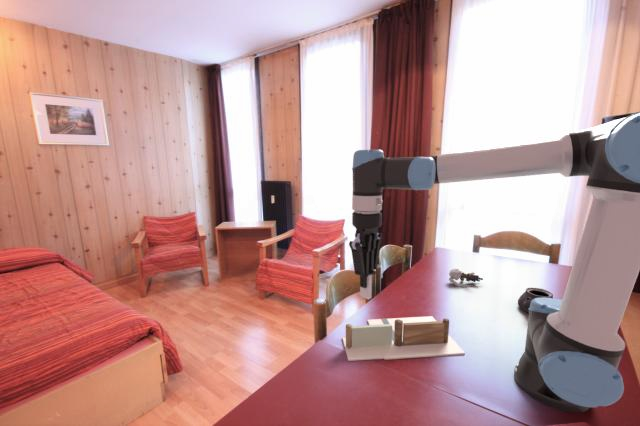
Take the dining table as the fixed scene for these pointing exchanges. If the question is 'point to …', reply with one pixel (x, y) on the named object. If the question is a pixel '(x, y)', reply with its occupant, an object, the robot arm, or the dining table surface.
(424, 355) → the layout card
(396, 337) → the fence fixed
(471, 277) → the toy
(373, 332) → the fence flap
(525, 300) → the teapot
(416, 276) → the dining table surface
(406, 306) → the dining table surface
